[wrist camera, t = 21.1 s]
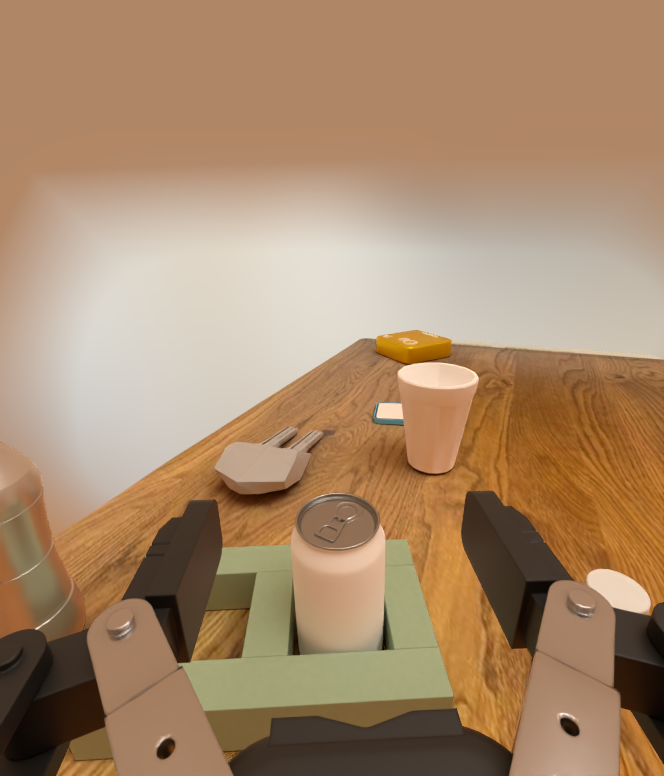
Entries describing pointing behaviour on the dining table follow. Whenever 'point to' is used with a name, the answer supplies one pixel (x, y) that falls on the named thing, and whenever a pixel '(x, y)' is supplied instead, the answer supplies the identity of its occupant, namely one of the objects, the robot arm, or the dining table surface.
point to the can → (338, 575)
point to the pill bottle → (619, 590)
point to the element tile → (413, 346)
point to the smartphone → (389, 413)
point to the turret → (266, 462)
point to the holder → (307, 657)
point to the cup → (435, 412)
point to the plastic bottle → (32, 557)
